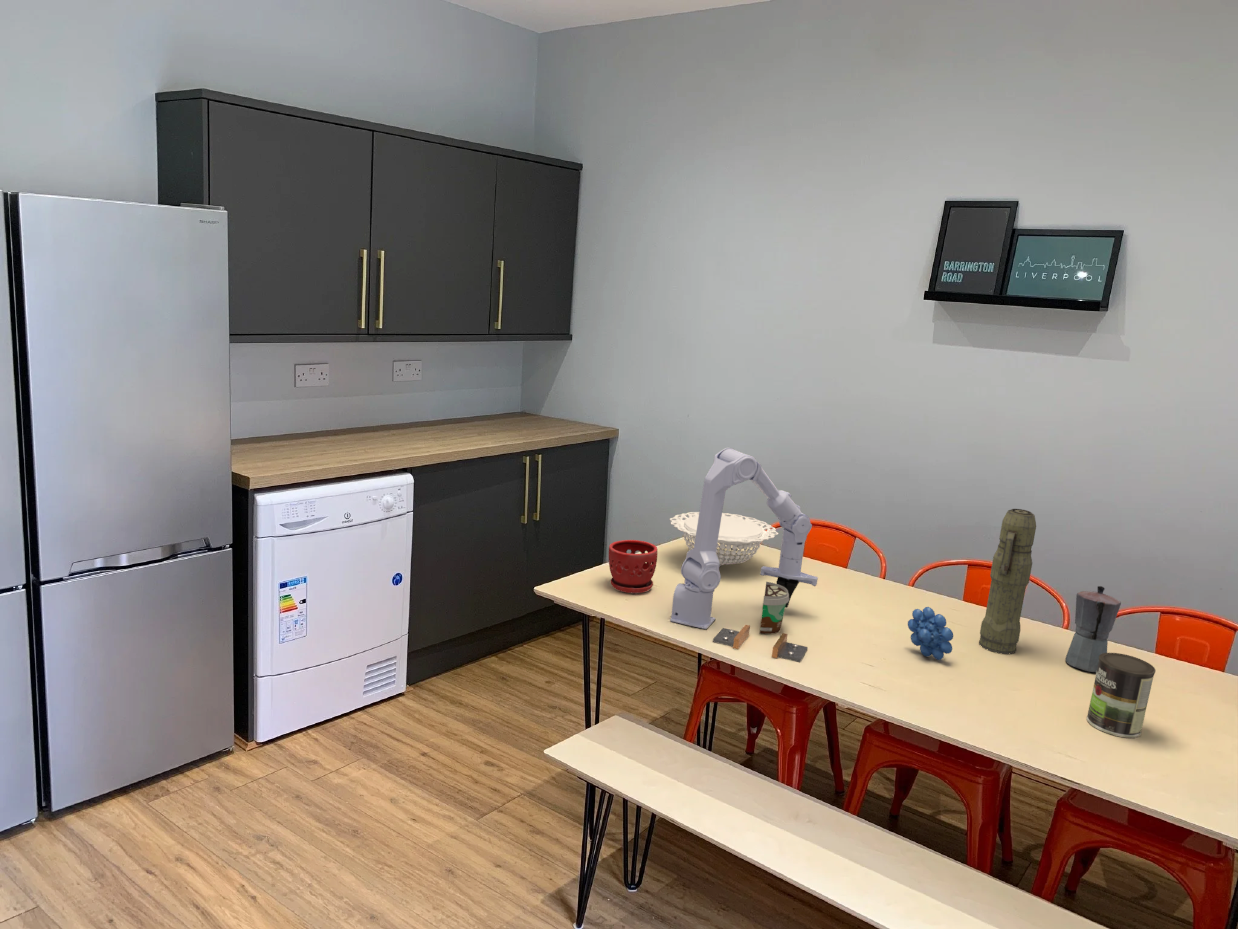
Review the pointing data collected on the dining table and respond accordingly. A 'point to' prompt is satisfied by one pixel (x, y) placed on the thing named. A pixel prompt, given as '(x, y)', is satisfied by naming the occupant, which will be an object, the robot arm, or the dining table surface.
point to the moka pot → (1091, 628)
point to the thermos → (1008, 582)
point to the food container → (773, 608)
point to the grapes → (930, 633)
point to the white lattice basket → (729, 535)
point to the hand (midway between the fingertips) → (785, 606)
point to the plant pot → (632, 565)
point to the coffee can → (1120, 694)
